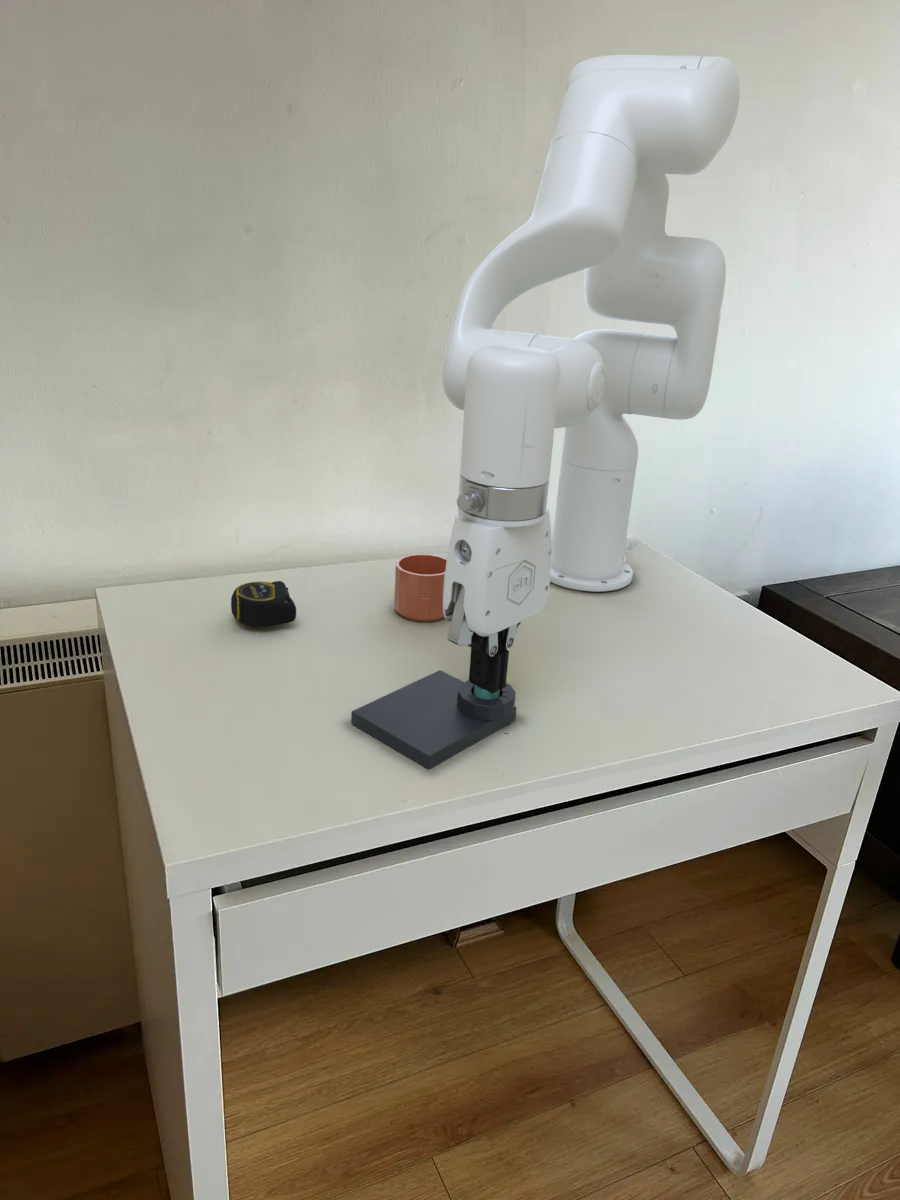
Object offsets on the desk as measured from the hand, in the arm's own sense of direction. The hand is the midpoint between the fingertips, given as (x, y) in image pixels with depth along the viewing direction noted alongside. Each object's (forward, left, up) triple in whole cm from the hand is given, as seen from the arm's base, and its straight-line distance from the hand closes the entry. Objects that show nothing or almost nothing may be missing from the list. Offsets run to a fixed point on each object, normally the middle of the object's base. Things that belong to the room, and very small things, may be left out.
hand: (487, 684), depth 84 cm
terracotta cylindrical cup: (-13, -21, -4) cm, 25 cm away
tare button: (0, 0, -2) cm, 2 cm away
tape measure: (+2, -31, -4) cm, 31 cm away
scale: (+4, -3, -4) cm, 6 cm away
